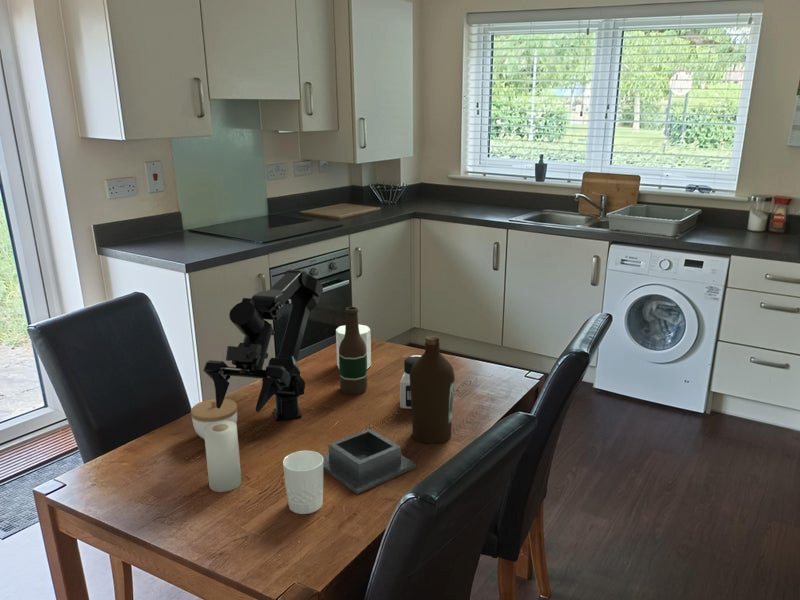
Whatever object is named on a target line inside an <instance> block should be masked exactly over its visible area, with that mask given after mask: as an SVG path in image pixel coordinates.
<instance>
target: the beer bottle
mask: <svg viewBox="0 0 800 600" xmlns="http://www.w3.org/2000/svg"><path fill="white" fill-rule="evenodd" d="M344 313H345V324H344V325H345V337H344V338H343V340H342V342H341V344H340V347H339V368H338V370H339V387H340V391H341V392H342V393H344V394H345V395H352V396H353V395H354V396H355V395H361V394H364V393H365V392H366V390H367V388H368V370H367V350H366V344H365V342H364V340H363V339H362V337H361V336H360V333H359V325H358V324H359V317H358V313H359V309H358V307H356V306H347V307H346V308H345V310H344Z"/></svg>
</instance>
